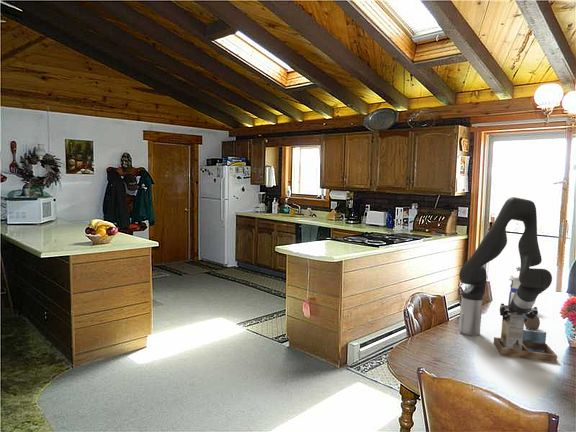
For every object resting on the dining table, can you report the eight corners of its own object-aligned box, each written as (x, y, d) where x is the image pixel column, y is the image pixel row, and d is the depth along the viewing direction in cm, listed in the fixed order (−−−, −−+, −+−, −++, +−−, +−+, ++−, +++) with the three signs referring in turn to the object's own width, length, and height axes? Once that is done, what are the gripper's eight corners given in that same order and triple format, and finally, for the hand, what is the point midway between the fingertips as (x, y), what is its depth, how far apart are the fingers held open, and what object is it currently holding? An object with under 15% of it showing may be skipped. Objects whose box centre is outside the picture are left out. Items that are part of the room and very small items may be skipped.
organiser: (500, 355, 177) (502, 337, 177) (493, 343, 191) (494, 326, 190) (556, 362, 172) (558, 343, 171) (545, 349, 185) (546, 332, 185)
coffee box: (499, 341, 187) (502, 306, 186) (515, 342, 186) (518, 307, 185) (506, 349, 178) (509, 312, 177) (522, 350, 177) (525, 313, 176)
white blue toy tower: (504, 306, 253) (507, 265, 251) (519, 307, 252) (522, 266, 250) (509, 310, 245) (512, 268, 243) (525, 311, 244) (528, 269, 242)
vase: (533, 332, 208) (535, 314, 208) (520, 327, 215) (522, 310, 214) (542, 330, 212) (543, 313, 211) (528, 325, 218) (530, 309, 217)
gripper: (542, 294, 169) (530, 313, 182) (503, 290, 173) (494, 309, 185) (545, 310, 165) (533, 329, 177) (505, 306, 168) (496, 325, 181)
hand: (513, 319), depth 181 cm, fingers closed on coffee box, 6 cm apart
